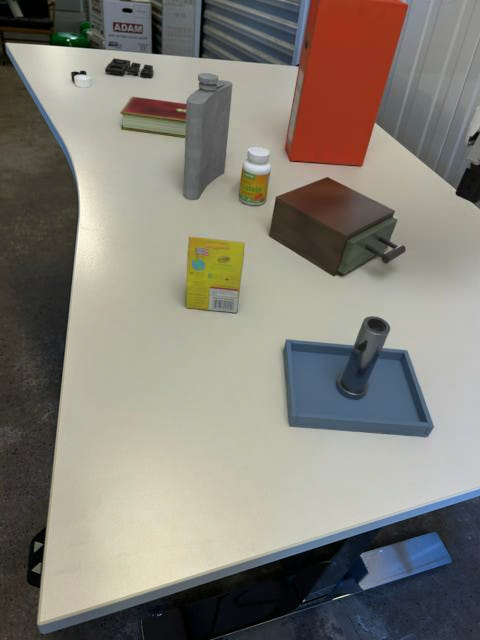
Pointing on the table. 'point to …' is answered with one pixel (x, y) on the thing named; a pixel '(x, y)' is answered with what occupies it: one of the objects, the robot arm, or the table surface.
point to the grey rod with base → (363, 358)
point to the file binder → (342, 78)
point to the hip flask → (206, 133)
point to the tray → (346, 414)
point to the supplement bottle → (255, 176)
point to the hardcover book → (154, 117)
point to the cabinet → (323, 220)
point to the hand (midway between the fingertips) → (467, 197)
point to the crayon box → (214, 274)
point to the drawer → (370, 245)
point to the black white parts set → (113, 71)
